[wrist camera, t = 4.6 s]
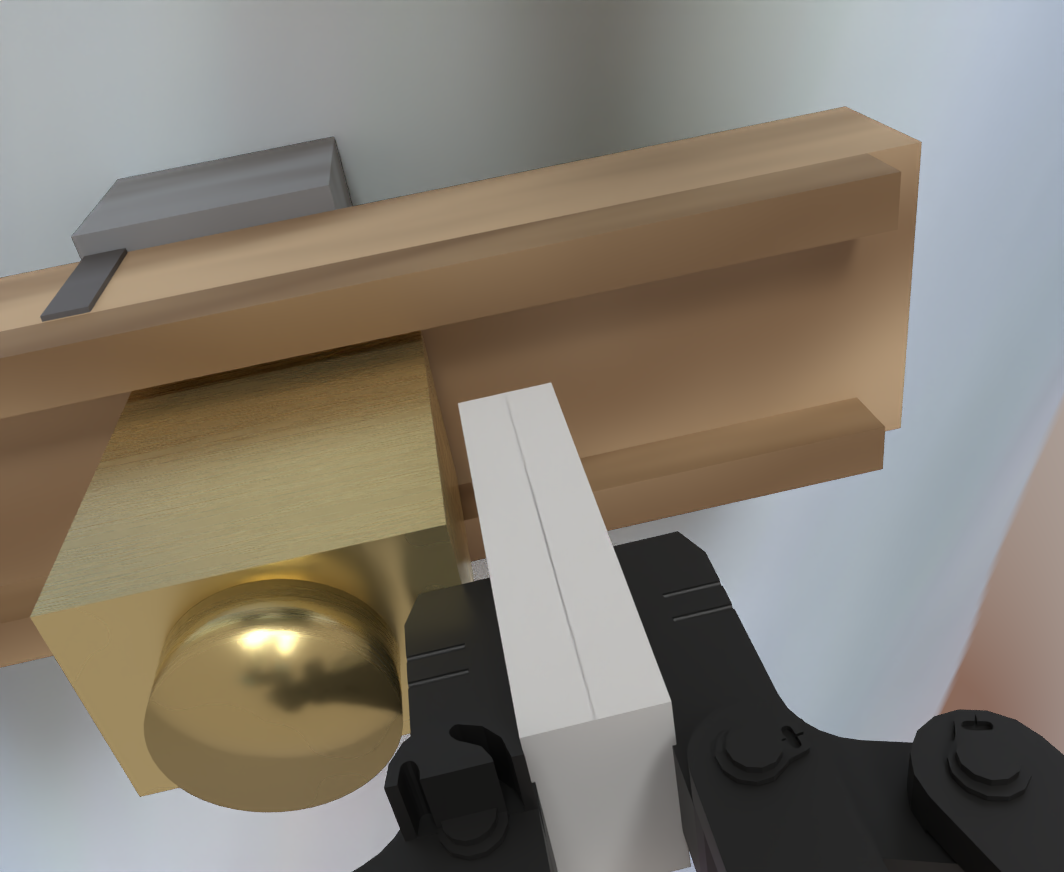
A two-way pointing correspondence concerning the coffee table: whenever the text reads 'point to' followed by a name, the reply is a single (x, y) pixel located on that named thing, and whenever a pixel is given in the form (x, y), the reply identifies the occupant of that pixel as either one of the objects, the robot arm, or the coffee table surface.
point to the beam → (493, 314)
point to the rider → (260, 574)
